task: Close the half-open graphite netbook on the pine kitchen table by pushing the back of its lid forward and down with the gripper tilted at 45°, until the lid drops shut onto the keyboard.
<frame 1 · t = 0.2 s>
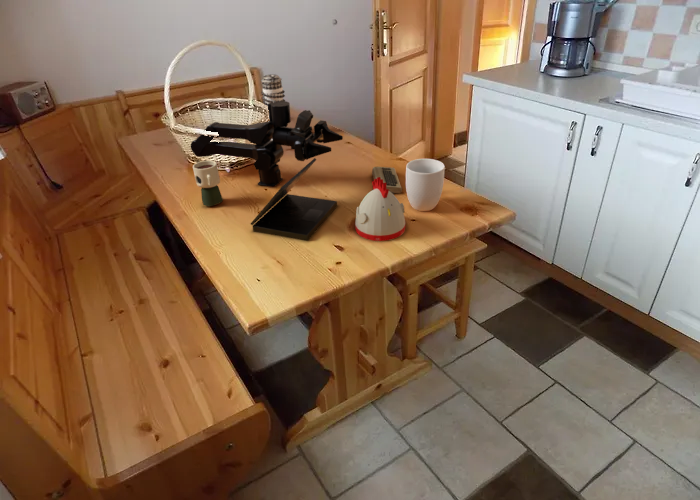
hand: (336, 143, 144), 16 cm above the table, tool horizontal, fingers open, 9 cm apart
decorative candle: (278, 138, 199), on the table
laptop screen: (284, 191, 135), point 8 cm above the table, hinge at 48.0°
laptop: (296, 218, 138), on the table
kitchen timer: (380, 228, 132), on the table
computer: (386, 184, 156), on the table
lily: (228, 167, 174), on the table
character mug: (213, 203, 149), on the table
mug: (422, 205, 143), on the table
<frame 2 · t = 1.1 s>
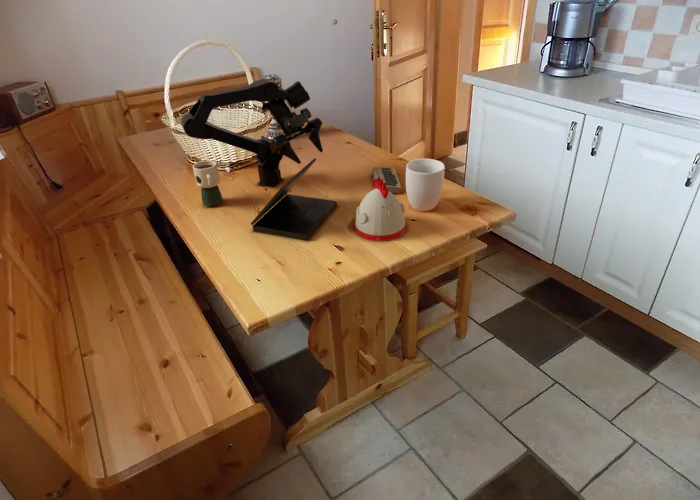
hand: (311, 157, 150), 11 cm above the table, tool tilted 45°, fingers open, 9 cm apart
nothing on the table moved.
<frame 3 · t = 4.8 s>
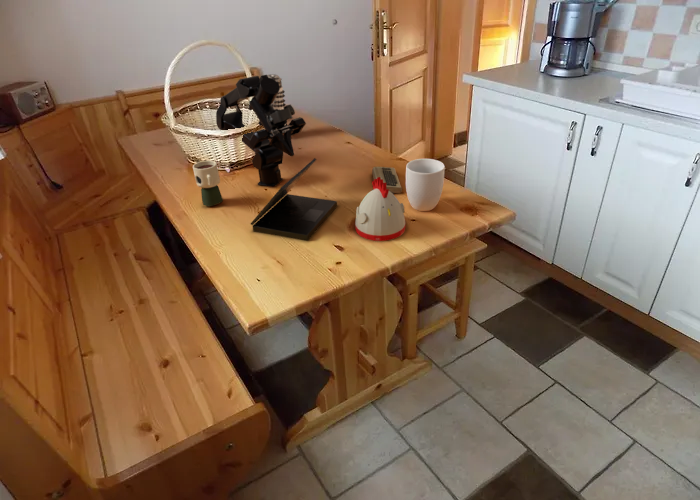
hand: (292, 155, 145), 13 cm above the table, tool tilted 45°, fingers closed
nothing on the table moved.
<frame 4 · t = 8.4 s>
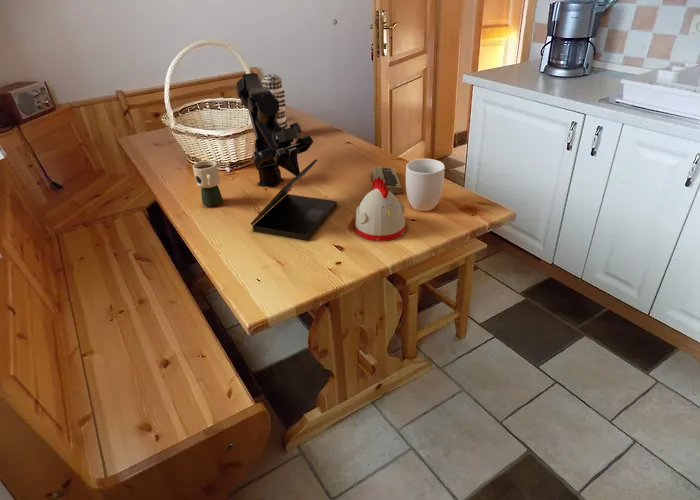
hand: (298, 175, 138), 11 cm above the table, tool tilted 45°, fingers closed
laptop screen: (284, 191, 135), point 8 cm above the table, hinge at 46.6°, touching gripper
everything else where it was.
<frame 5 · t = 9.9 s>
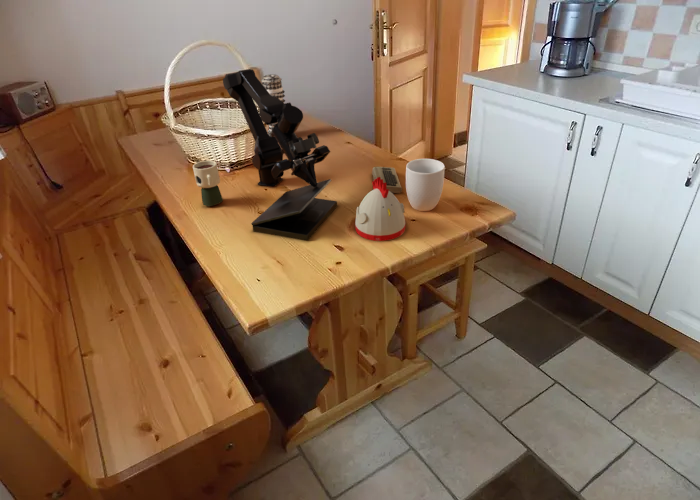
hand: (315, 186, 138), 8 cm above the table, tool tilted 45°, fingers closed
laptop screen: (292, 201, 136), point 5 cm above the table, hinge at 22.3°
everything else where it was.
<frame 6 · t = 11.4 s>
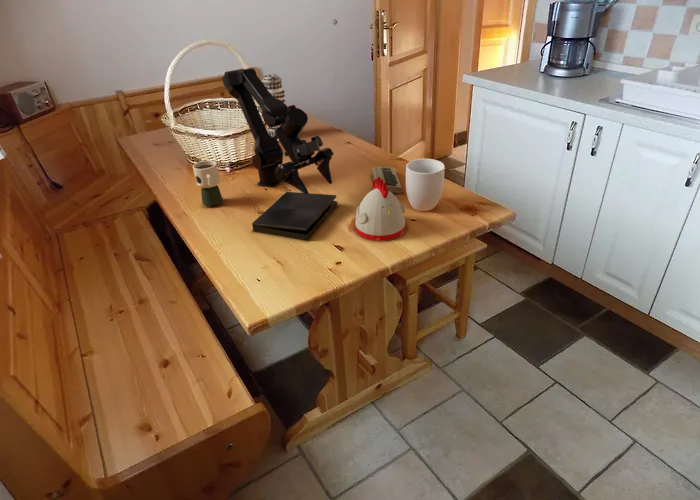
hand: (319, 188, 138), 7 cm above the table, tool tilted 45°, fingers open, 9 cm apart
laptop screen: (295, 209, 137), point 3 cm above the table, hinge at 4.1°, touching laptop
everything else where it was.
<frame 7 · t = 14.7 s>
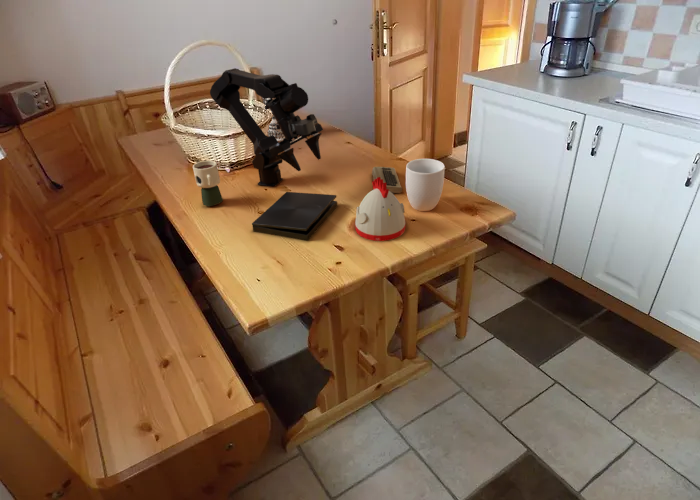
hand: (309, 164, 145), 11 cm above the table, tool tilted 30°, fingers open, 9 cm apart
nothing on the table moved.
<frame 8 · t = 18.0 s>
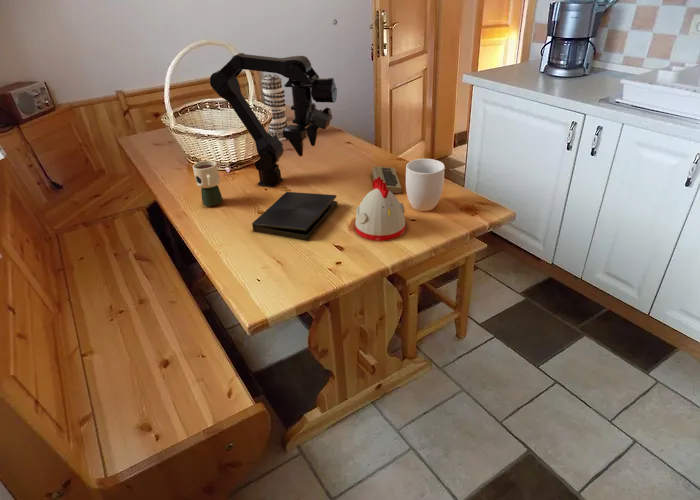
hand: (307, 150, 151), 12 cm above the table, tool pointing down, fingers open, 9 cm apart
nothing on the table moved.
at the end: laptop screen at +4° (first picture: +48°) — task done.
